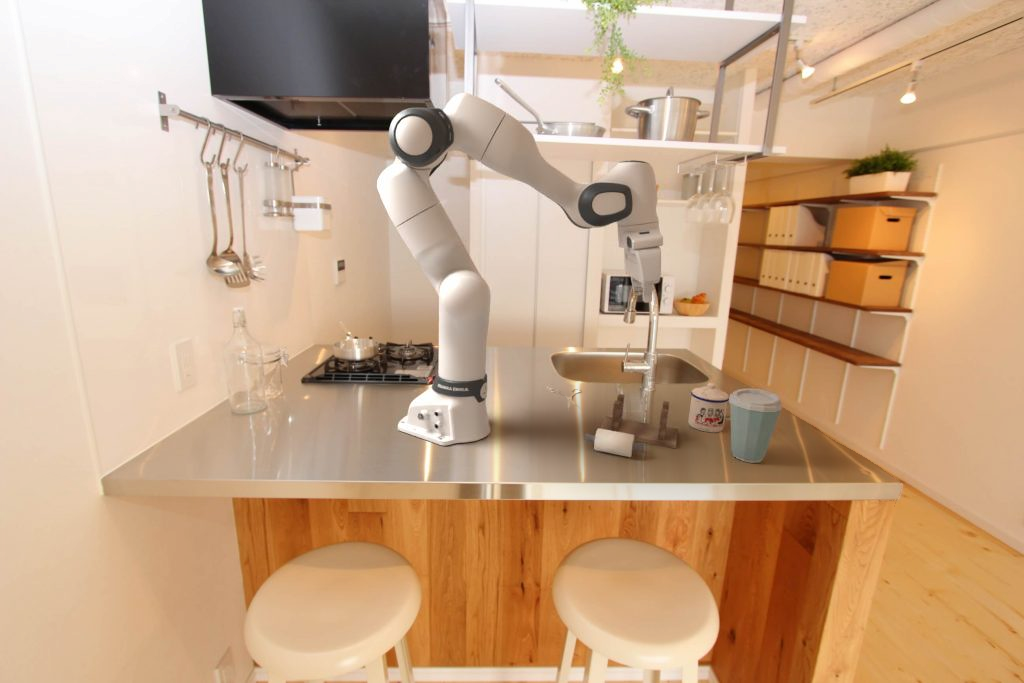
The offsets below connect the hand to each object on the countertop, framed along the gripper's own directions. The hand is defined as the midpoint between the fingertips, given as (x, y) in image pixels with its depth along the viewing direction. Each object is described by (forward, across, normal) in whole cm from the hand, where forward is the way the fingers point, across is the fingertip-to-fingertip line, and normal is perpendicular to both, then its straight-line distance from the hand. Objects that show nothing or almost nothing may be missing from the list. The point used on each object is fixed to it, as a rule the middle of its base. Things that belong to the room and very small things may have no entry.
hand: (642, 298), depth 110 cm
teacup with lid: (+38, -7, +17) cm, 42 cm away
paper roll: (+30, +11, -11) cm, 34 cm away
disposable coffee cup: (+37, +10, +19) cm, 43 cm away
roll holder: (+34, 0, -3) cm, 34 cm away
